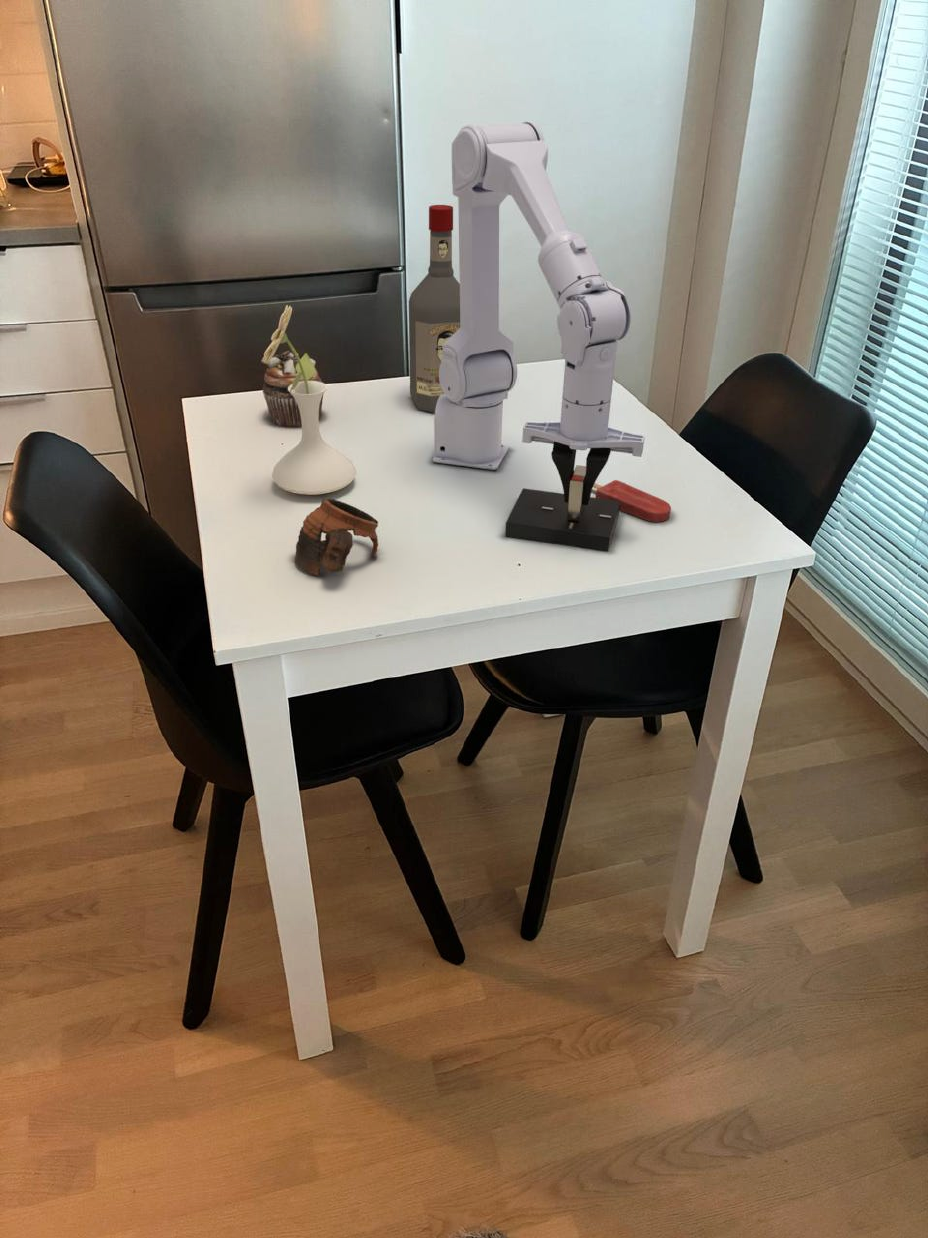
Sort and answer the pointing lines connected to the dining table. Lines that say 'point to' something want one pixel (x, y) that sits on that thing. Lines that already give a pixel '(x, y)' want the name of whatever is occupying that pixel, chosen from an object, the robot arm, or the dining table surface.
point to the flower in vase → (308, 433)
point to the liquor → (433, 312)
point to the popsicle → (634, 501)
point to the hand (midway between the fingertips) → (577, 500)
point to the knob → (576, 494)
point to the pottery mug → (332, 535)
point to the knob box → (562, 520)
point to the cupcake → (284, 389)
